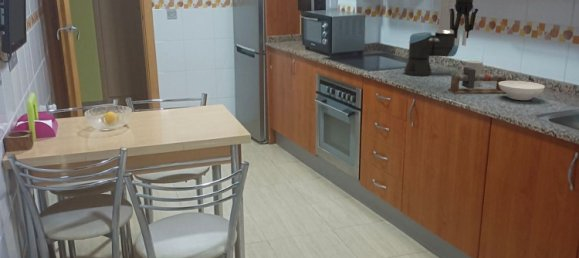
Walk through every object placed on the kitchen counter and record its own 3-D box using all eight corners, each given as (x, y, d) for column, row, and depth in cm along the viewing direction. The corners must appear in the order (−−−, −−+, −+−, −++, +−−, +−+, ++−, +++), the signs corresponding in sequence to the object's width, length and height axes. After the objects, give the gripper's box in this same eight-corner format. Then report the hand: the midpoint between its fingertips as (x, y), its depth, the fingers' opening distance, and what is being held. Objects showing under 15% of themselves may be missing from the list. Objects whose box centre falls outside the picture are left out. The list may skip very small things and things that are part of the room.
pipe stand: (454, 93, 256) (456, 75, 254) (448, 90, 264) (449, 72, 261) (506, 93, 258) (509, 75, 256) (499, 90, 266) (501, 73, 264)
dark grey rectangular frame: (468, 88, 256) (470, 69, 253) (462, 85, 264) (463, 67, 261) (473, 88, 256) (475, 69, 254) (466, 85, 264) (468, 67, 261)
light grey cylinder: (481, 86, 274) (483, 63, 271) (464, 86, 276) (466, 62, 272) (478, 84, 282) (481, 61, 278) (462, 83, 283) (465, 60, 280)
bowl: (519, 105, 234) (521, 90, 233) (487, 96, 252) (489, 82, 250) (552, 102, 242) (554, 87, 240) (518, 93, 259) (520, 79, 257)
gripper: (451, -7, 243) (446, 46, 250) (485, -6, 245) (479, 46, 251) (445, -7, 250) (440, 44, 257) (478, -7, 252) (473, 44, 258)
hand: (459, 45), depth 254 cm, fingers open, 3 cm apart
